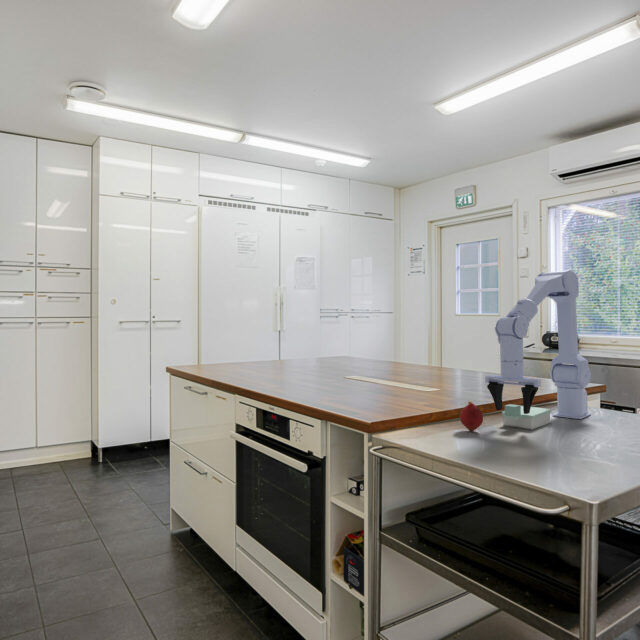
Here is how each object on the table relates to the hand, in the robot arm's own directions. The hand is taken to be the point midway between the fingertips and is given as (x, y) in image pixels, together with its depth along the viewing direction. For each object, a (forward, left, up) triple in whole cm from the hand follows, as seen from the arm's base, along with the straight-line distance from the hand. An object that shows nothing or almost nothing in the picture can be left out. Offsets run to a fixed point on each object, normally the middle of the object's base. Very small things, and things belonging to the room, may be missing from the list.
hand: (512, 411), depth 132 cm
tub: (-9, 0, -5) cm, 10 cm away
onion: (+9, -7, -5) cm, 13 cm away
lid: (-7, 0, -3) cm, 7 cm away
